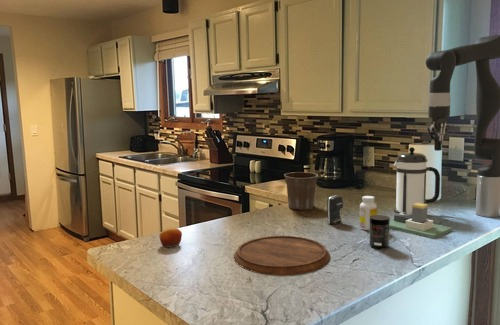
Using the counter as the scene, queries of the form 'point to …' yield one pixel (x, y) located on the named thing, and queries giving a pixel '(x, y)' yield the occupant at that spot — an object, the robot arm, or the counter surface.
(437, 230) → the header board
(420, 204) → the plug
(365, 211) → the supplement bottle
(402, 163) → the coffee press
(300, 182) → the plant pot
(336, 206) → the battery charger
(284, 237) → the cutting board
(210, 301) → the counter surface
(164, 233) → the fruit
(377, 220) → the supplement container
